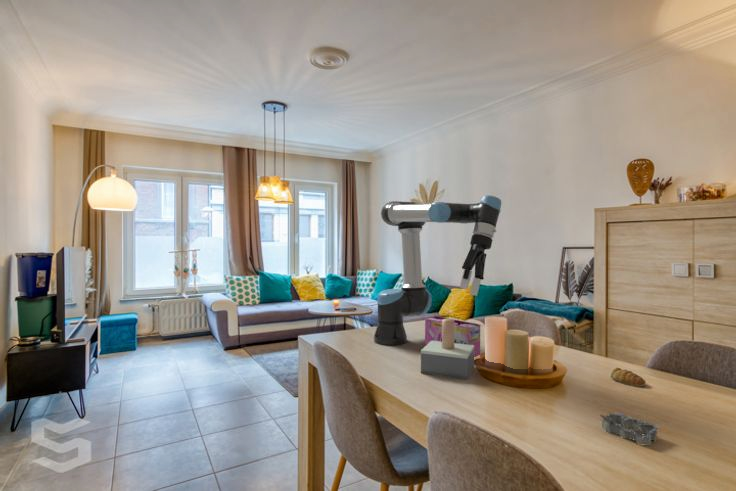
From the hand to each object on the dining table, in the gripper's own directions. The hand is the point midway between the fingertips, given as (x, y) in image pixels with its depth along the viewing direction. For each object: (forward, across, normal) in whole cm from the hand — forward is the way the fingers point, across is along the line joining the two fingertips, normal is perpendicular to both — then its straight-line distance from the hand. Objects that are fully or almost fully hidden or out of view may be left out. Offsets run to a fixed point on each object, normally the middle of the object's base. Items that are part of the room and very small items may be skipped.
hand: (468, 291), depth 142 cm
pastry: (+15, +19, -52) cm, 58 cm away
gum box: (+24, +21, +6) cm, 33 cm away
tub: (+29, +2, +1) cm, 29 cm away
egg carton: (+27, -20, -52) cm, 62 cm away
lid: (+22, 0, +2) cm, 22 cm away
